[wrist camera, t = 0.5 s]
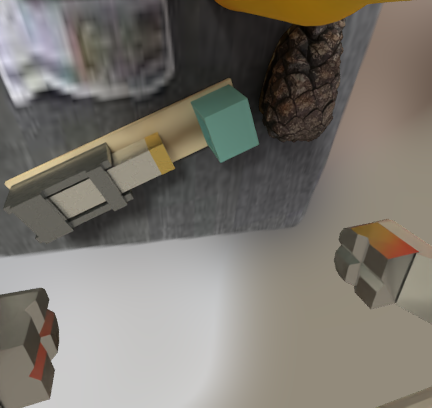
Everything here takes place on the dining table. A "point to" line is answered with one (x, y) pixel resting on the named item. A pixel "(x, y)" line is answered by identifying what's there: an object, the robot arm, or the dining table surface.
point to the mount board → (148, 133)
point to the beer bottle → (300, 9)
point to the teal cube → (226, 122)
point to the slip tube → (117, 175)
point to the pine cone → (302, 82)
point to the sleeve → (57, 180)
